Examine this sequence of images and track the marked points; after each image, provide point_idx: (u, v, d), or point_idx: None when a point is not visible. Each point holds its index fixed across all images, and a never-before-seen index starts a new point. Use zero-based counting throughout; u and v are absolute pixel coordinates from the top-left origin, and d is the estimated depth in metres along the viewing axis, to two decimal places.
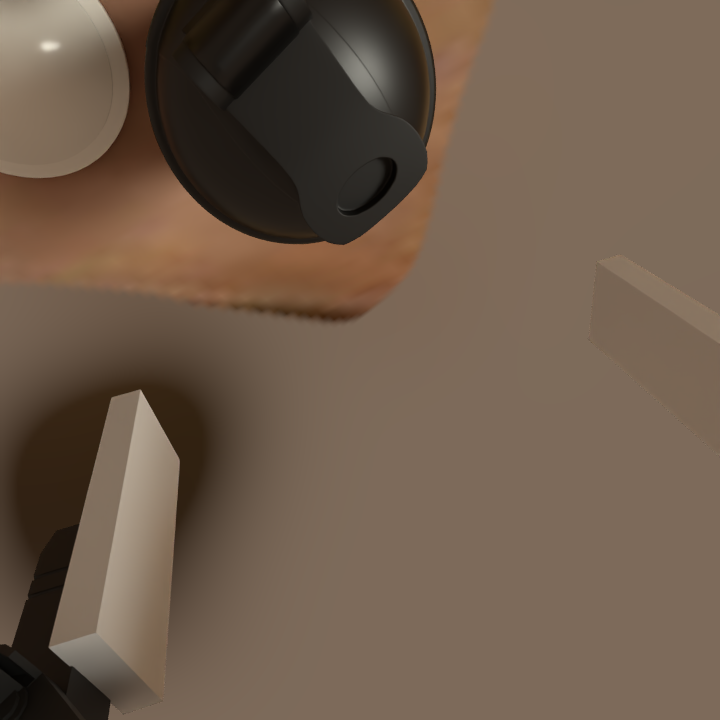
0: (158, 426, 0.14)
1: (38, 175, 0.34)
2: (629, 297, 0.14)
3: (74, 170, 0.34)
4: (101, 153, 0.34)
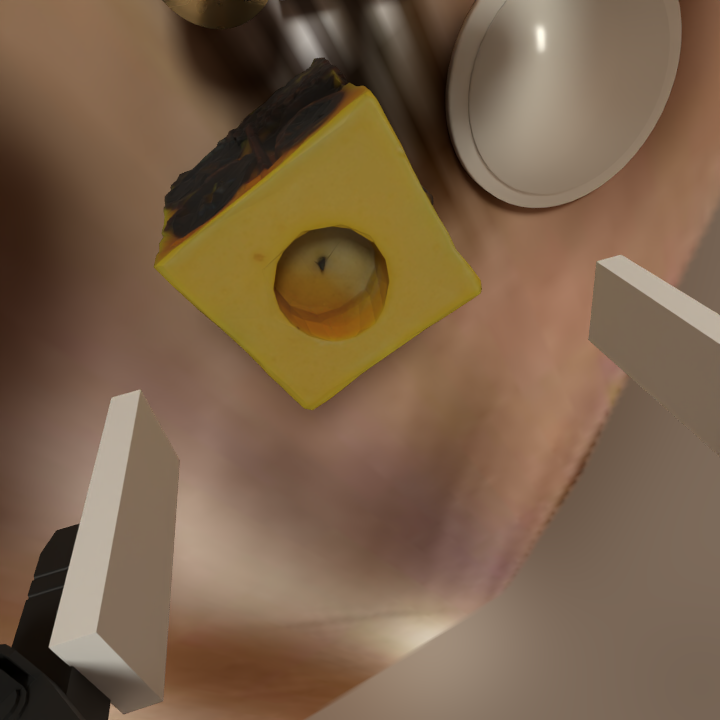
0: (158, 426, 0.14)
1: (667, 92, 0.29)
2: (628, 297, 0.14)
3: (679, 46, 0.28)
4: (676, 1, 0.27)
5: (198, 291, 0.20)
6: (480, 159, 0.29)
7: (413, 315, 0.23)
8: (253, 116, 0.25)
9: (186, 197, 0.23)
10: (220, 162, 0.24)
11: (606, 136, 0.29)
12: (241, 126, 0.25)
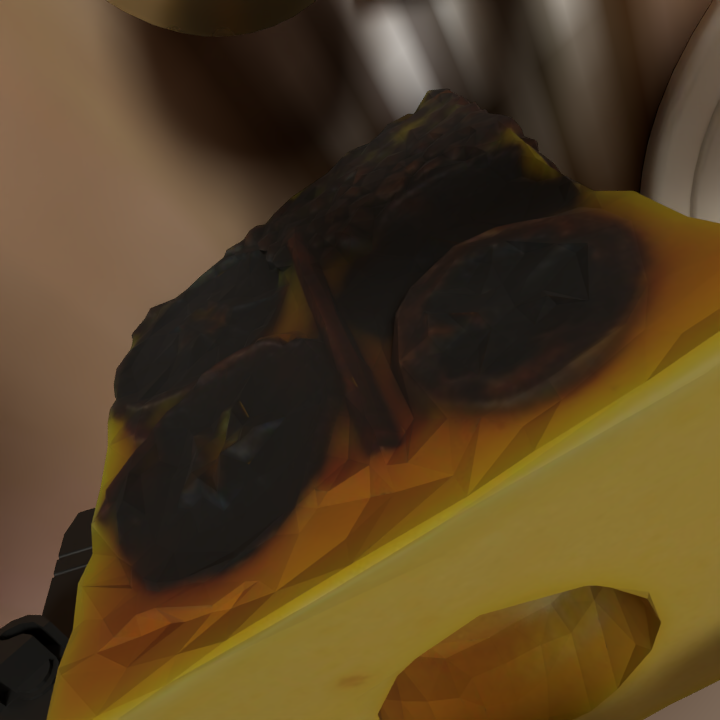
0: None
1: None
2: None
3: None
4: None
5: None
6: None
7: (674, 686, 0.10)
8: (301, 207, 0.12)
9: (157, 404, 0.10)
10: (233, 309, 0.11)
11: None
12: (275, 226, 0.12)
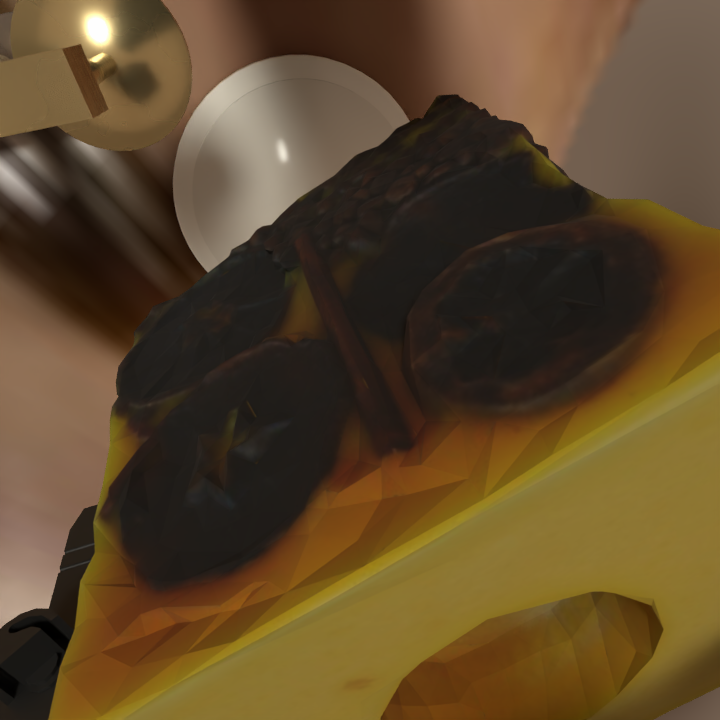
0: None
1: None
2: None
3: None
4: (404, 117, 0.26)
5: None
6: None
7: (672, 693, 0.10)
8: (308, 208, 0.12)
9: (161, 402, 0.10)
10: (238, 309, 0.11)
11: None
12: (282, 226, 0.12)
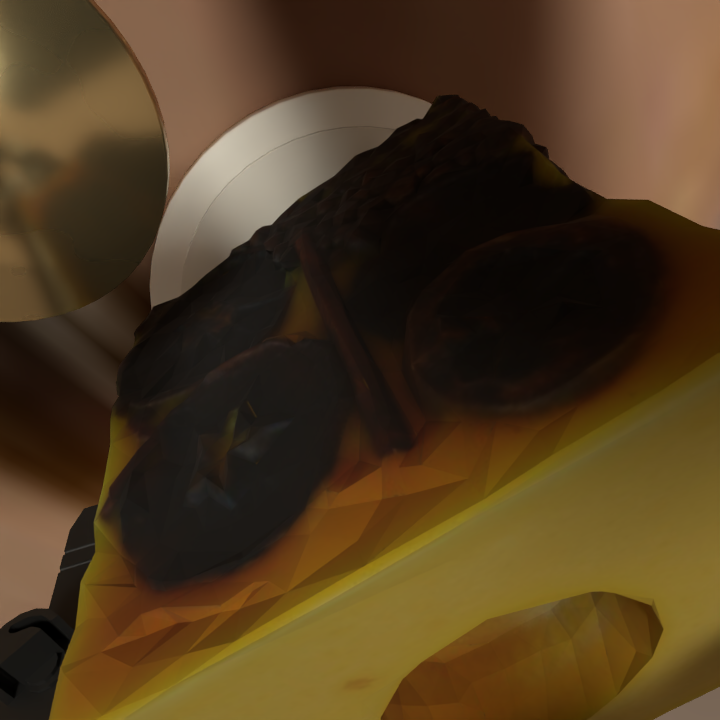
0: None
1: None
2: None
3: None
4: None
5: None
6: None
7: (672, 693, 0.10)
8: (308, 209, 0.12)
9: (161, 402, 0.10)
10: (238, 309, 0.11)
11: None
12: (282, 226, 0.12)
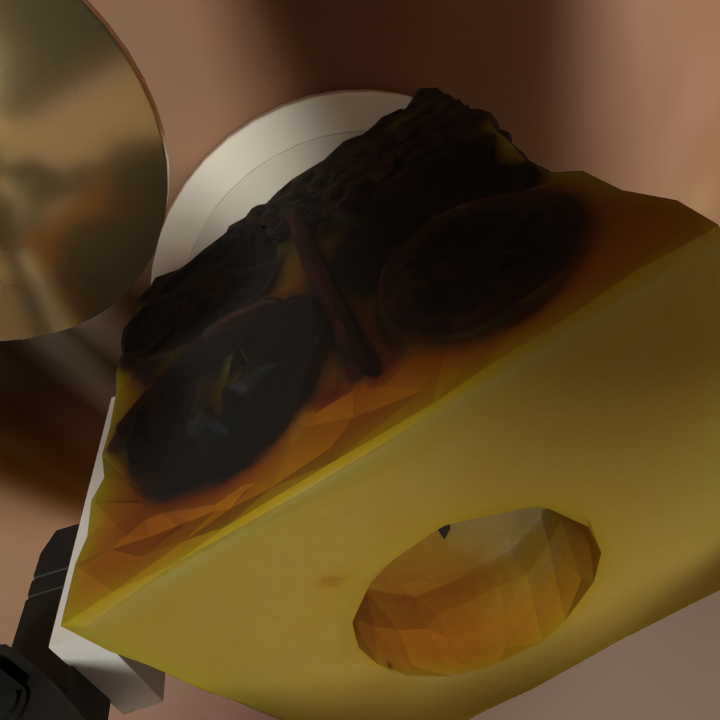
0: None
1: None
2: None
3: None
4: None
5: (178, 652, 0.08)
6: None
7: (616, 623, 0.11)
8: (299, 188, 0.13)
9: (163, 356, 0.11)
10: (234, 277, 0.13)
11: None
12: (275, 204, 0.13)
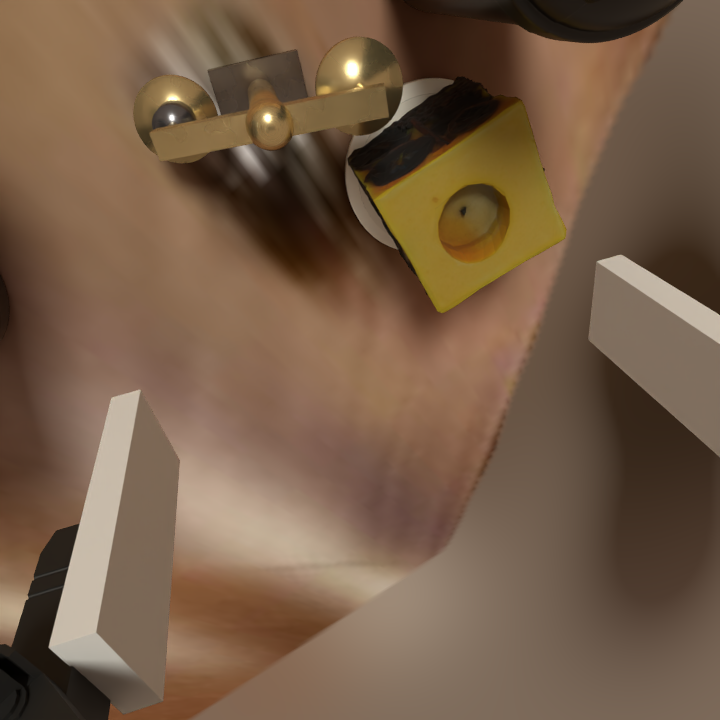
0: (158, 426, 0.14)
1: None
2: (629, 296, 0.14)
3: None
4: None
5: (395, 218, 0.31)
6: (373, 222, 0.42)
7: (520, 250, 0.34)
8: (413, 113, 0.37)
9: (373, 163, 0.35)
10: (391, 142, 0.36)
11: None
12: (403, 119, 0.37)
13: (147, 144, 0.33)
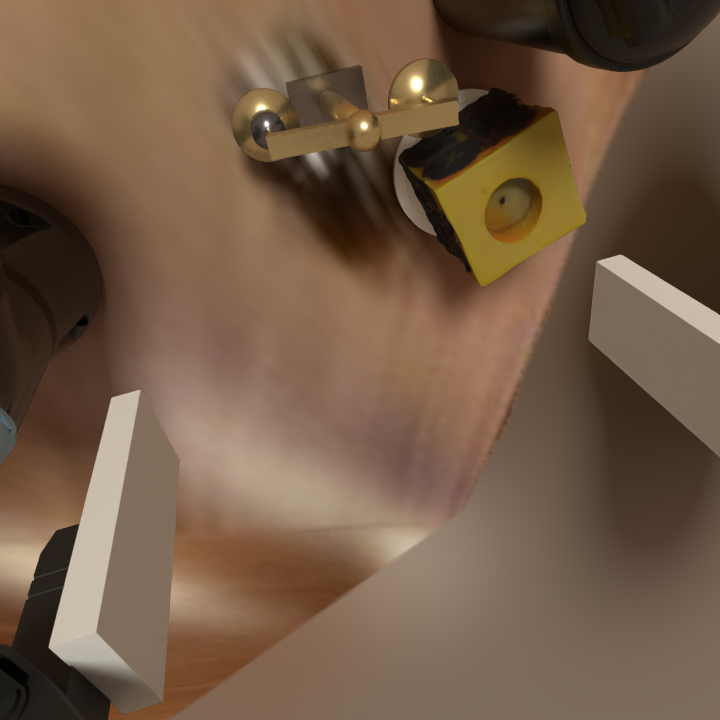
0: (158, 426, 0.14)
1: None
2: (629, 296, 0.14)
3: None
4: None
5: (451, 207, 0.38)
6: (415, 211, 0.49)
7: (549, 232, 0.41)
8: None
9: (425, 161, 0.42)
10: (439, 143, 0.43)
11: None
12: None
13: (241, 146, 0.39)
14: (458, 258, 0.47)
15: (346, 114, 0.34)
